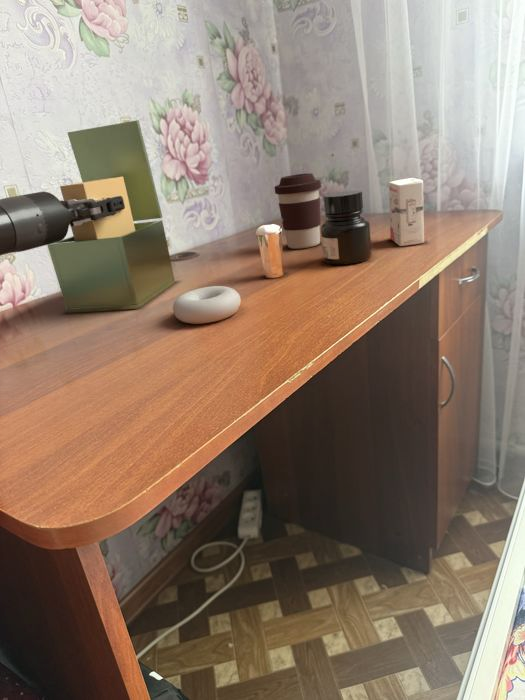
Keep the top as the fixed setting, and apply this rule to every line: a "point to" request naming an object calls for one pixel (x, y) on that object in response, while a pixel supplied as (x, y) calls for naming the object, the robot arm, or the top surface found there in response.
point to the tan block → (107, 225)
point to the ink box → (406, 211)
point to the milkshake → (271, 249)
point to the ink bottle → (345, 229)
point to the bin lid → (118, 163)
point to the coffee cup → (300, 209)
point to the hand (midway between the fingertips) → (109, 203)
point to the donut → (206, 304)
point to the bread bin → (113, 269)
